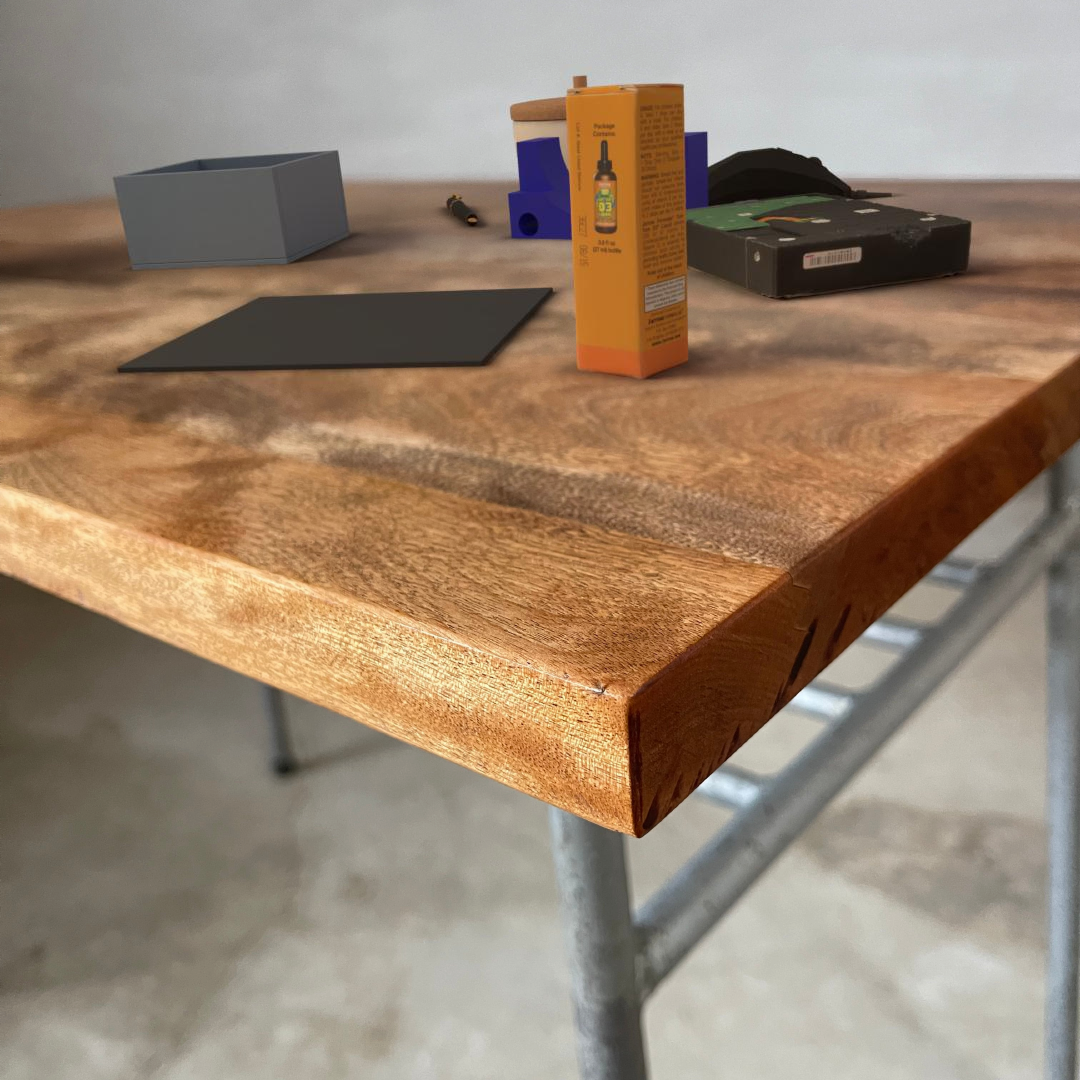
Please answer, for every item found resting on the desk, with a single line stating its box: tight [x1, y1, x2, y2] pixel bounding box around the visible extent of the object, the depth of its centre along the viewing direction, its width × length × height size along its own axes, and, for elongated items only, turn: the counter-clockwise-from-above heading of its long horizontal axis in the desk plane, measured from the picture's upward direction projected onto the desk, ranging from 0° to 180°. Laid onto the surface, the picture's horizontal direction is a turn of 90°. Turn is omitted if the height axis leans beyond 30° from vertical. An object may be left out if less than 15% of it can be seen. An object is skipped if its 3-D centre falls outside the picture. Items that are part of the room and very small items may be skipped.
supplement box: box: [565, 82, 689, 380], centre depth 40 cm, size 3×3×10 cm
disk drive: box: [686, 193, 973, 299], centre depth 57 cm, size 10×3×15 cm
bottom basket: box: [112, 149, 351, 271], centre depth 76 cm, size 11×11×6 cm
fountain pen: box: [446, 193, 478, 227], centre depth 84 cm, size 14×1×2 cm, turn 12°
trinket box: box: [509, 74, 588, 171], centre depth 84 cm, size 11×11×9 cm
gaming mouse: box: [708, 147, 893, 207], centre depth 78 cm, size 6×15×4 cm, turn 89°
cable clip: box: [507, 131, 709, 240], centre depth 71 cm, size 12×4×6 cm, turn 60°
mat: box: [116, 287, 554, 374], centre depth 52 cm, size 16×14×1 cm
